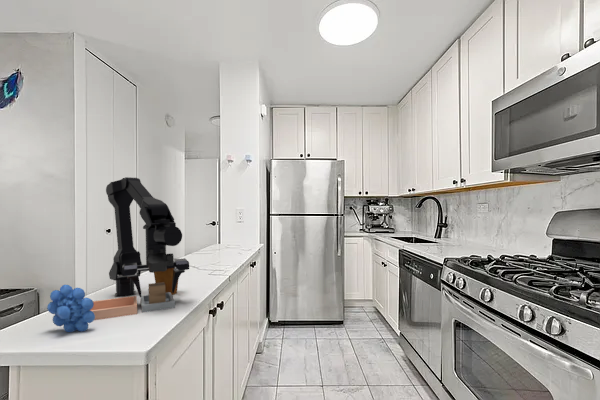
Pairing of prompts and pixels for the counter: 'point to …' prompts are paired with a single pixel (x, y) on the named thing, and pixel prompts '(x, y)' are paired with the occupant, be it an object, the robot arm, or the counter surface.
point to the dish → (114, 307)
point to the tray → (157, 306)
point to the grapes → (71, 308)
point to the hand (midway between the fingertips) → (157, 294)
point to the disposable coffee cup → (166, 279)
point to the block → (157, 293)
